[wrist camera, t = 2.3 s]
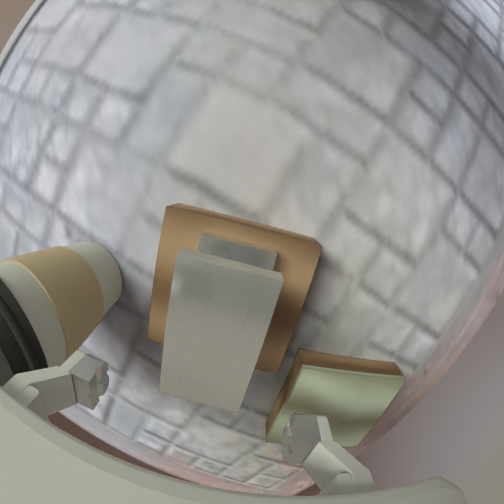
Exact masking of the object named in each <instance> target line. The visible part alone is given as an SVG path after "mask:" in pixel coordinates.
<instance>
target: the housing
mask: <svg viewBox="0 0 504 504" xmlns="http://www.w3.org/2000/svg"><path fill="white" fill-rule="evenodd" d="M276 257H277V250H276V249H272V248H268V247H265V246H261V245H257V244H253V243H249V242H246V241H242V240H238V239H234V238H230V237H226V236H222V235H218V234H215V233H211V232H207V231H203V232H202V233H201V234H200V238H199V243H198V248H197V251H195V250H191V249H188V248H183V249H182V250H181V251H179V252H178V253H177V257H176V262H175V268H174V274H173V280H172V286H171V293H170V299H169V306H168V313H167V320H166V328H165V336H164V345H163V354H162V363H161V374H160V386H159V391H160V392H163V393H166V394H169V395H172V396H175V397H179V398H182V399H185V400H189V401H193V402H196V403H200V404H204V405H208V406H212V407H216V408H220V409H225V410H229V411H234V412H239V409H240V406H241V404H242V401H243V398H244V396H245V393H246V390H247V388H248V385H249V382H250V379H251V376H252V374H253V371H254V368H255V365H256V362H257V360H258V357H259V354H260V351H261V348H262V345H263V342H264V339H265V336H266V333H267V330H268V327H269V324H270V321H271V318H272V315H273V312H274V309H275V306H276V303H277V300H278V297H279V294H280V291H281V287H282V284H283V277H282V273H280V272H276V271H273V267H274V264H275V260H276Z"/></svg>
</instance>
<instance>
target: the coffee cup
mask: <svg viewBox="0 0 504 504" xmlns="http://www.w3.org/2000/svg"><path fill="white" fill-rule="evenodd" d="M121 291H122V276H121V272H120V269H119V266H118V264H117V262H116V260H115V259H114V257H113V256H112V254H111V253H110V252H109V251H108V250H107V249H106V248H105V247H103V246H102V245H100V244H98V243H96V242H92V241H83V242H79V243H75V244H71V245H67V246H63V247H62V246H57V247H52V248H48V249H44V250H40V251H36V252H32V253H28V254H24V255H20V256H17V257H13V258H9V259H5V260H3V261H1V262H0V386H1V387H2V386H4V385H5V384H6V383H7V382H8V381H9V380H10V379H11V378H12V377H13V376H14V375H16V374H18V373H24V372H29V371H34V370H39V369H44V368H49V367H54V366H58V367H60V366H61V365H62V364H63V363H64V362H65V361H66V360H67V359H68V358H69V357H70V356H71V355H72V354H73V353H74V352H75V351H76V350H78V349H79V347H80V346H81V345H82V344H83V342H84V341H85V340H86V339H87V338H88V336H89V335H90V334H91V333H92V331H93V330H94V329H95V328H96V327H97V326H98V324H99V323H100V321H101V319H102V317H103V316H104V315H105V314H106V313H107V312H108V310H109V309H110V308H111V307H112V306H113V305H114V304H115V303H116V301H117V300H118V299H119V297H120V294H121Z"/></svg>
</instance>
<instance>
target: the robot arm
mask: <svg viewBox="0 0 504 504" xmlns="http://www.w3.org/2000/svg"><path fill="white" fill-rule="evenodd" d="M107 371H108V363H106V362H104V361H102V360H100V359H98V358H96V357H94V356H92V355H90V354H87V353H85V352H83V351H82V350H80V349H79V350H76V351H75V352H74V353H73V354H72V355H71V356H70V357H69V358H68V359H67V360H66V361H65V362H64V363H63V364H62V365H61V366H60V367H58V366H54V367H49V368H44V369H39V370H34V371H29V372H24V373H18V374H16V375H14V376H13V377H12V378H11V379H10V380H9V381H8V382H7V383H6V384H5V385H4V386H2V387H1V386H0V504H468V502H467V499H466V497H465V495H464V493H463V491H462V490H461V489H460V488H459V487H458V486H456V485H454V484H453V483H451V482H450V481H448V480H447V479H445V478H443V477H433V478H429V479H426V480H422V481H419V482H414V483H410V484H406V485H402V486H398V487H393V488H387V489H381V490H376V489H375V486H374V483H373V480H372V476H371V473H370V471H369V470H368V469H367V468H366V467H365V466H363V465H362V464H361V463H360V462H359V461H357V460H356V459H355V458H354V457H353V456H352V455H351V454H349V453H348V452H347V451H346V450H345V449H344V448H343V447H342V446H340V445H339V444H338V443H337V442H333V438H332V434H331V430H330V427H329V423H328V419H327V417H326V416H321V415H309V414H299V413H293V414H292V415H291V416H290V418H289V421H290V423H288V424H286V425H285V427H284V429H283V433H282V444H283V445H284V446H285V447H284V449H283V451H282V453H283V462H287V463H298V464H301V465H302V466H303V467H304V469H305V470H306V471H307V473H308V474H309V475H310V476H311V478H312V479H313V480H314V482H315V483H316V484H317V485H318V486H319V488H320V489H321V490H322V491H321V492H320V493H319V494H318V495H316V496H282V495H266V494H255V493H246V492H239V491H232V490H226V489H220V488H214V487H209V486H204V485H200V484H196V483H191V482H187V481H183V480H180V479H176V478H172V477H169V476H165V475H162V474H159V473H156V472H153V471H150V470H147V469H144V468H141V467H138V466H136V465H133V464H131V463H128V462H126V461H123V460H121V459H118V458H116V457H114V456H111V455H109V454H107V453H105V452H103V451H100V450H98V449H96V448H94V447H92V446H90V445H88V444H86V443H84V442H82V441H80V440H79V439H77V438H75V437H73V436H71V435H70V434H68V433H66V432H64V431H62V430H61V429H59V428H57V427H56V426H54V425H53V424H51V423H50V422H49V419H48V415H50V414H53V413H55V412H58V411H60V410H63V409H65V408H67V407H70V406H72V405H74V404H77V403H79V404H81V405H83V406H85V407H87V408H90V409H92V410H94V408H95V407H96V405H97V404H98V402H99V396H102V395H104V394H105V392H106V390H107V388H108V385H109V376H108V375H107V373H106V372H107Z"/></svg>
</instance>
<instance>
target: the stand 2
mask: <svg viewBox="0 0 504 504" xmlns="http://www.w3.org/2000/svg"><path fill="white" fill-rule="evenodd" d="M405 380H406V379H405V377H404V376H403V374H402V373H401V371H400V370H399V368H398V367H397V365H396V364H395V363H393V362H384V361H375V360H367V359H359V358H352V357H345V356H338V355H332V354H326V353H320V352H314V351H309V350H303V349H299V351H298V353H297V355H296V358H295V360H294V363H293V365H292V367H291V369H290V372H289V374H288V376H287V378H286V381H285V383H284V385H283V387H282V389H281V392H280V394H279V396H278V398H277V400H276V402H275V404H274V406H273V409H272V411H271V413H270V415H269V417H268V419H267V421H266V442H272V443H281V444H282V433H283V429H284V427H285V425H286V424H288V423H290V421H289V418H290V416H291V415H292V414H293V413H299V414H309V415H321V416H326V417H327V419H328V423H329V427H330V430H331V434H332V438H333V442H337V443H338V444H339V445H340V446H342V447H356V446H357V445H358V444H359V443H360V441H361V440H362V439H363V438H364V437H365V435H366V434H367V433H368V432H369V430H370V429H371V428H372V427H373V425H374V424H375V423H376V421H377V420H378V419H379V418H380V416H381V415H382V413H383V412H384V411H385V409H386V408H387V407H388V405H389V404H390V402H391V401H392V399H393V398H394V397H395V395H396V394H397V392H398V391H399V389H400V388H401V386H402V384H403V383H404V381H405Z"/></svg>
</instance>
